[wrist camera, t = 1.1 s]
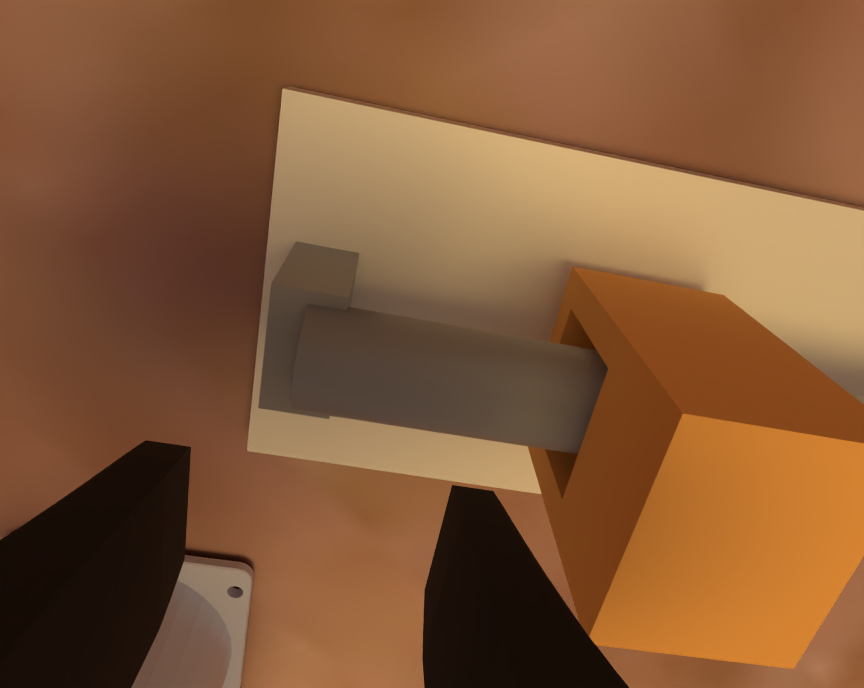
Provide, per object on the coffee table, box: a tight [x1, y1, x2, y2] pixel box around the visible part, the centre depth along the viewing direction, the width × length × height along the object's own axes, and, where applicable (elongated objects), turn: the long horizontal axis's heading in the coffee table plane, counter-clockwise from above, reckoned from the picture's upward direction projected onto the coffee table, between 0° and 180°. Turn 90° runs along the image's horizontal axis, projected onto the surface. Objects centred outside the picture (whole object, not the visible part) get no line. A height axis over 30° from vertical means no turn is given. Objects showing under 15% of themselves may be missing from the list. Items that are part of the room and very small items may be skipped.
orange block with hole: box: [528, 266, 864, 669], centre depth 14 cm, size 4×5×7 cm
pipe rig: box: [247, 86, 864, 494], centre depth 17 cm, size 27×10×6 cm, turn 79°
